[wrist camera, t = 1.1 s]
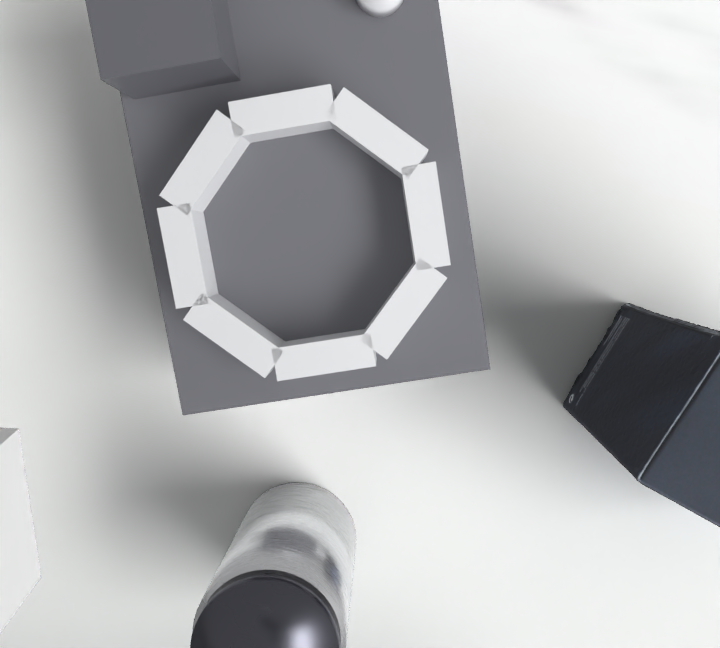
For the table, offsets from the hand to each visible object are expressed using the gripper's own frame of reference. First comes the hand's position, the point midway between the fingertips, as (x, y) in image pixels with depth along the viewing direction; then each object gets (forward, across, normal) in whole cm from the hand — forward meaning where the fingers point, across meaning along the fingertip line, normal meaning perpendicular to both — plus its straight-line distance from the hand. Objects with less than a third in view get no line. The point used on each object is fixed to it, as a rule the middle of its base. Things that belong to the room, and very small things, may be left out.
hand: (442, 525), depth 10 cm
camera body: (+24, +4, -1) cm, 25 cm away
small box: (+22, -14, +8) cm, 28 cm away
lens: (+21, +5, +16) cm, 26 cm away
